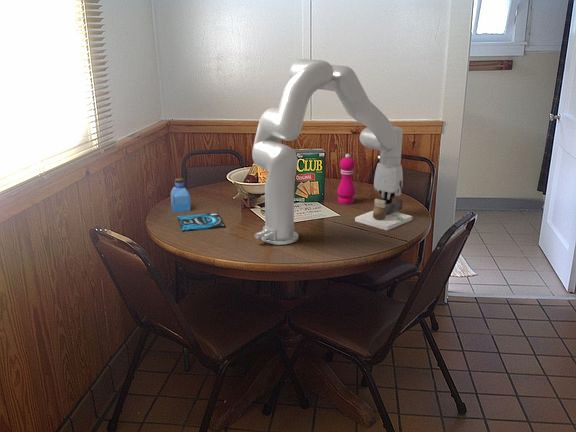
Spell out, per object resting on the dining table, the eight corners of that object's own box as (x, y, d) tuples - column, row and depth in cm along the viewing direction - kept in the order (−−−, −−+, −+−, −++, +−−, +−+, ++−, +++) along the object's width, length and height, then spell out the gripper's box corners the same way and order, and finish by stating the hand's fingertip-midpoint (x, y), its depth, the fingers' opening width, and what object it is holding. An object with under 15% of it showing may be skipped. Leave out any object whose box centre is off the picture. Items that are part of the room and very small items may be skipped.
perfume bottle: (190, 210, 206) (188, 180, 203) (174, 212, 204) (172, 182, 200) (187, 206, 212) (185, 176, 208) (171, 207, 210) (169, 178, 206)
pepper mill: (354, 199, 222) (356, 152, 215) (354, 205, 215) (357, 156, 208) (336, 199, 222) (338, 151, 216) (336, 204, 215) (338, 155, 209)
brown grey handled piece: (380, 220, 192) (381, 202, 189) (370, 217, 194) (371, 200, 192) (405, 210, 203) (406, 193, 201) (395, 207, 205) (396, 191, 203)
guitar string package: (225, 225, 189) (182, 229, 184) (225, 229, 189) (182, 233, 185) (217, 212, 202) (177, 216, 198) (218, 215, 203) (177, 219, 198)
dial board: (388, 230, 187) (388, 226, 186) (354, 221, 196) (355, 216, 196) (413, 220, 198) (413, 215, 197) (380, 211, 207) (380, 207, 207)
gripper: (367, 158, 199) (364, 206, 205) (402, 165, 189) (398, 215, 195) (379, 155, 204) (376, 202, 210) (413, 162, 194) (409, 210, 200)
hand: (386, 208), depth 202 cm, fingers closed
